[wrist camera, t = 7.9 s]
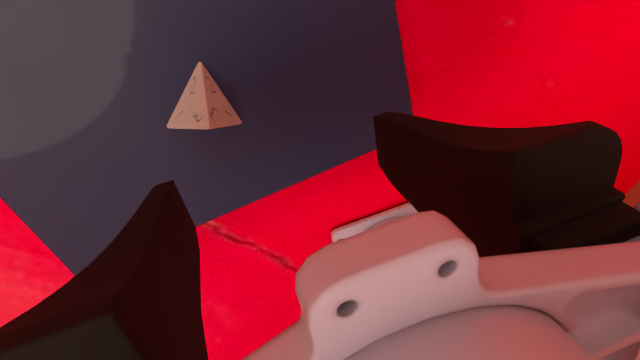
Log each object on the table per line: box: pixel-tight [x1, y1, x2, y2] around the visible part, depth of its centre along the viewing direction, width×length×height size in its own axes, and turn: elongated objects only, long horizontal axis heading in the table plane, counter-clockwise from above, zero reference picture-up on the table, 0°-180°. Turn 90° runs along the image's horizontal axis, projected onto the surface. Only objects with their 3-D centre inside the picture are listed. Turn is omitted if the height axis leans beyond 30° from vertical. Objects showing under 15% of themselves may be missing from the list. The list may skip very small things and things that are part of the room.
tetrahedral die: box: [167, 62, 242, 130], centre depth 18 cm, size 4×3×3 cm
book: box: [0, 0, 413, 276], centre depth 19 cm, size 14×20×3 cm
